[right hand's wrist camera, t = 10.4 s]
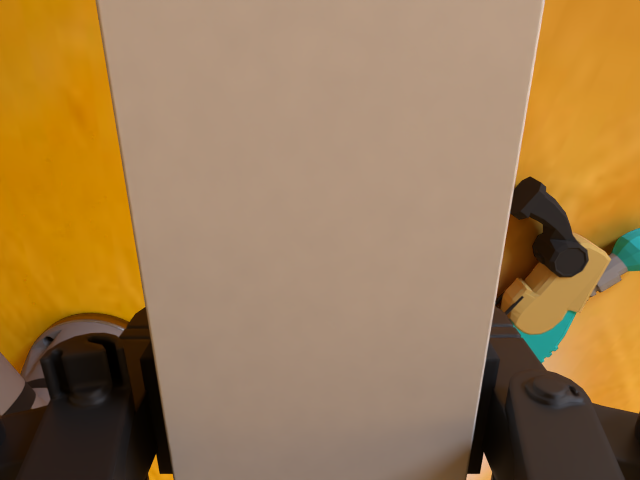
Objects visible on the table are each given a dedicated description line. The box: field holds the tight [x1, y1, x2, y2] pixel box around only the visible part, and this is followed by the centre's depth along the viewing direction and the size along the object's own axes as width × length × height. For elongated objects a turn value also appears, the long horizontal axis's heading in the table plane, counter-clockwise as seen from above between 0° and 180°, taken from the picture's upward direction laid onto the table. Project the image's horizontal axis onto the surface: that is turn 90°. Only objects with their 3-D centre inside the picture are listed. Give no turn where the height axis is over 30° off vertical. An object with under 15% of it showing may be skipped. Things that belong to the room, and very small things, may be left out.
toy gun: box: [495, 177, 640, 363], centre depth 45 cm, size 4×26×15 cm
